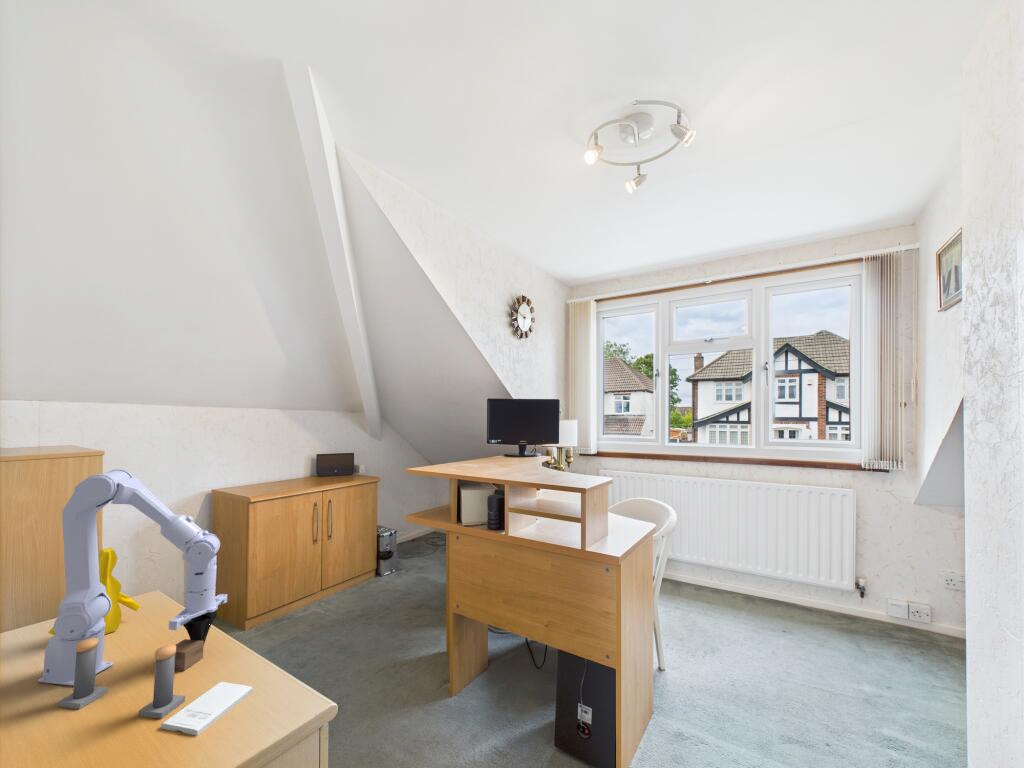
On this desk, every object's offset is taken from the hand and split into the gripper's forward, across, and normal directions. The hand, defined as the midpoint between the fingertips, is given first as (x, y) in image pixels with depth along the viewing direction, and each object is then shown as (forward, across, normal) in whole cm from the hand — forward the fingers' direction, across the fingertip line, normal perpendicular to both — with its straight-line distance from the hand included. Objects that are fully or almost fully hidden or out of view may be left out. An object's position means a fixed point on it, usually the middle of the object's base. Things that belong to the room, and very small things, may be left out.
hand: (198, 646), depth 103 cm
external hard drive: (+3, -16, -18) cm, 24 cm away
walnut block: (+2, -4, 0) cm, 4 cm away
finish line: (+2, -18, 0) cm, 18 cm away
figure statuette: (+2, +5, +33) cm, 33 cm away
